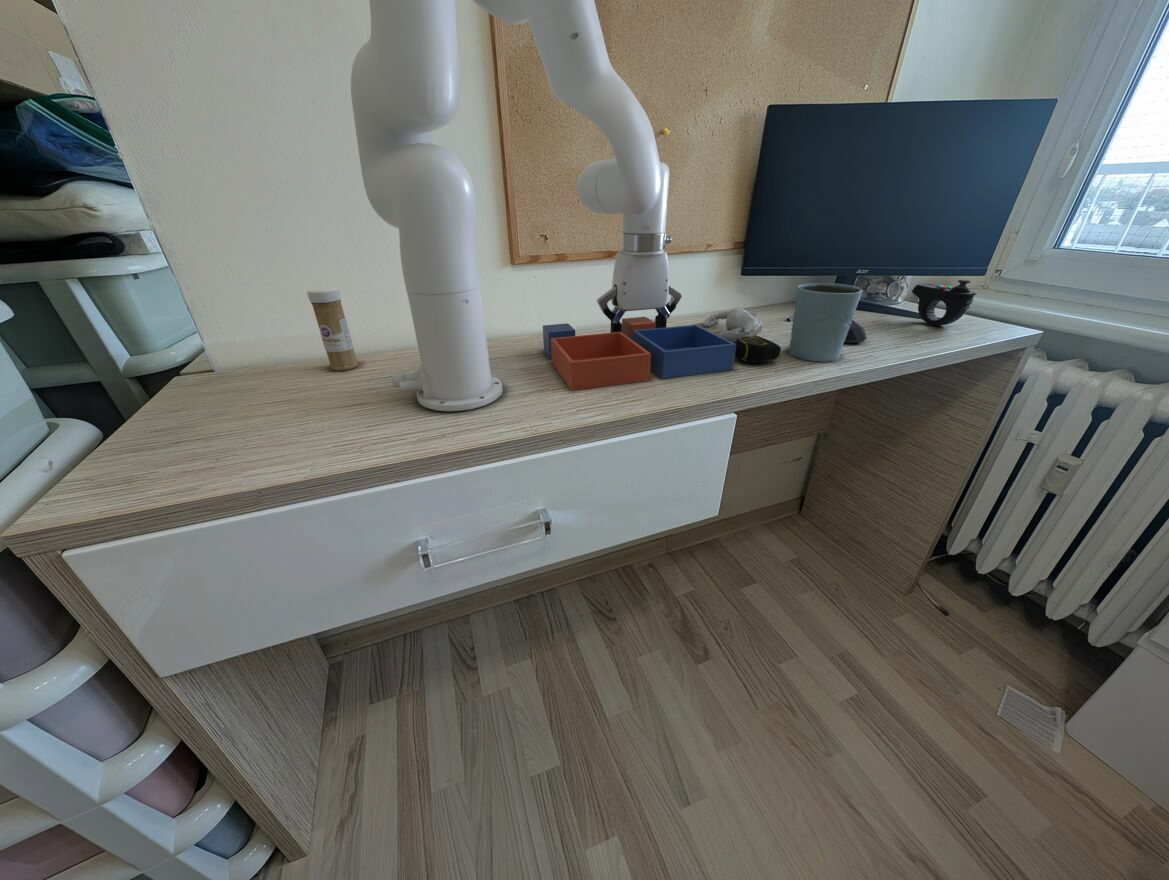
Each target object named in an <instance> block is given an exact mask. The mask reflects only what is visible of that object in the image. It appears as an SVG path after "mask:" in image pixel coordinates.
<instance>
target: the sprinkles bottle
mask: <svg viewBox="0 0 1169 880" xmlns="http://www.w3.org/2000/svg"><path fill="white" fill-rule="evenodd" d="M306 294H307V297H308V300H309V302H310V305H311V306H312V309H313V313H314V316H315V319H316V322H317V325H318V329H319V333H320V337H321V340H322V343H323V347H324V350H325V352H326V355H327V358H328V362H329V367H330V369H331V370H334V371H348V370H352V369H354V368H356V367H358V365H359V361H358V359H357V356H356V353H355V349H354V344H353V340H352V336H351V333H350V330H349V325H348V322H347V318H346V316H345V313H344V309H343V306H342V300H341V299H342V297H341V293H340V291H339V288H338V287H337V286H329V285H328V286H326V285H325V286H316V287H311V288H309V289H307V290H306Z"/></svg>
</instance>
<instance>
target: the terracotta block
mask: <svg viewBox="0 0 1169 880" xmlns="http://www.w3.org/2000/svg"><path fill="white" fill-rule="evenodd" d="M621 324H622V333H623V334H625V335H626V336H627V337H629V338H630V339H631V340H632V334H633V331H634V330H644V329H655V328H656V322H655V320H652V319H650V318H649V317H647V316H636V317H635V316H634V317H625V318H623V317H622V318H621Z"/></svg>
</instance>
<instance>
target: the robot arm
mask: <svg viewBox="0 0 1169 880" xmlns="http://www.w3.org/2000/svg"><path fill="white" fill-rule="evenodd" d="M471 1H473V3H475V4H476V5H477V6H479V7H480V8H482V9H483V10H484V11H485V12H487V13H488V14H490V15H491V16H493V17H494V18H496V19H498V20H500V21H501V22H503V23H505V24H508V25H511V26H519V25H523V24H525V23H528V25H529V27H530V31H531V33H532V37H533V39H534V42H535V45H536V48H537V51H538V54H539V57H540V60H541V63H542V67H543V69H544V72H545V76H546V78H547V81H548V85H549V88H550V90H551V92H552V94H553V95H554V96H555V98H557V99H558V100H559V101H561V102H562V103H564V104H565V105H567V106H569V107H570V108H572V109H573V110H575V111H577V112H578V113H580V114H582V115H584V116H585V117H586V118H588V120H590V121H591V122H593V124H595V125H596V126H597V128H598V129H599V130H600V131H601V133H603V136H605V138H606V139H607V141H608V143H609V144H610V147H611V149H612V151H613V153H614V158H610V159H609V158H607V159H599V160H596V161H592V162H591V163H589V164H588V165H586V166H585V167H584V168H583V169H581V170H582V171H580V174H579V175H578V179H577V183H576V193H577V196H578V199H579V201H580V202H581V204H582V205H583V207H585V208H586V209H587V210H589V211H591V212H592V213H596V214H606V215H607V214H608V215H615V214H617V215H622V228H621V229H622V233H621V251H618V252H616V256H615V261H614V267H613V273H612V280H611V281H612V282H611V288H610V289H609V290H607V291H606V292H605V293H604V294H602V295H601V296H599V297H598V298H597V299H596V304H597V305H598V307H599V309H600V310H601V312H602V314H603V315H605V316H606V318H608V320H609V321H610V333H612V332H622V322H621V320H622V319H623V316H624V315H625V313H626V312H634V311H647V310H655V311H656V313H657V315H655V317H654V322H656V328H665V327H667V321H668V319H669V318H670V317H671V314H672V313H673V312H674V311H675V310H676V308H677V305H678V304H679V302H680V301H681V299H682V297H683V294H682V292H679V290H676V289H675V288H674V287H672V286H670V275H669V273H670V271H669V260H668V253H667V251H665V249H666V245H670V244H671V243H672V236H671V235H667V232H666V227H667V214H668V213H667V211H668V202H669V201H668V199H669V187H670V186H669V185H670V167H669V165H667V163H665V162H664V161H663V162H662V161H660V155H659V151H658V146H657V141H656V136H655V132H654V129H653V127H652V123H651V122H650V121H651V120H650V119H649V117H648V115H647V113H646V111H645V109H644V108H643V106H642V105H641V103H640V102H639V100H638V98H637V97H636V95H635V94H634V93H633V91H632V90H631V89H630V87H629V86H628V85H627V83H626V82H625V81H624V79H623V78H622V77H621V76H620V75H619V74H618V73H617V71H615V69H614V68H613V65H612V63H611V61H610V58H609V54H608V51H607V47H606V42H605V39H604V33H603V31H602V27H601V23H600V18H599V15H598V11H597V6H596V3H595V0H471ZM368 3H369V11H370V37H369V39H368V40H367V41H366V42H365V43H364V44H363V45H362V46H361V47H360V48H359V50H358V52H357V53H356V54H355V56H354V60H353V63H352V67H351V72H350V73H351V75H350V95H351V97H350V99H351V105H352V113H353V120H354V127H355V134H356V142H357V150H358V156H359V163H360V169H361V176H362V182H363V186H364V190H365V194H366V197H367V199H368V202H369V204H370V206H371V207H372V209H373V210H374V212H375V213H376V214H377V215H378V216H379V217H380V218H381V219H382V220H383V221H384V222H385V223H387V224H388V225H389V226H391V227H393V228H396V229H398V237H399V253H400V263H401V270H402V271H401V272H402V276H403V281H404V286H405V291H406V294H407V300H408V304H409V310H410V314H411V318H412V325H413V328H414V333H415V338H416V342H417V343H416V344H417V348H418V354H419V358H420V367H419V368H420V369H413V372H409V373H404V372H403V373H401V372H400V373H393V374H391V377H390V378H391V384H392V387H393V388H399V389H400V392H406V391H411V390H416V400H417V402H418V404H419V405H421V406H422V407H423V408H426V409H429V410H432V411H438V412H462V411H469V410H474V409H478V408H481V407H484V406H487V405H489V404H491V403H493V402H495V401H496V400H498V399H499V398H500V397H501V396H502V394H503V391H504V388H503V383H502V380H500V379H499V378H497V377H496V376H494V375H492V373H491V367H490V357H489V350H488V349H489V347H488V341H487V333H486V332H487V331H486V324H485V316H484V308H483V307H484V306H483V299H482V291H481V283H480V276H479V267H478V266H479V265H478V257H477V255H478V254H477V213H478V211H477V210H478V209H477V195H476V191H475V186H474V185H475V184H474V182H473V180H472V177H471V175H470V173H469V171H468V168H467V167H466V166H465V165H464V163H463V162H462V161H461V160H460V158H458V156H456V155H455V154H454V153H453V152H451V151H450V150H448V149H447V148H445V147H443V146H440V145H437V144H434V143H433V140H432V139H433V138H432V132H433V131H437V130H439V129H441V128H443V127H445V126H447V125H448V124H450V123H451V122H452V120H453V119H454V118H455V116H456V114H457V113H458V110H459V107H460V101H461V100H460V99H461V84H460V83H461V82H460V67H459V66H460V65H459V47H458V45H459V44H458V29H457V9H456V8H457V7H456V0H369V2H368ZM669 296H670V300H669ZM668 300H669V301H668ZM610 301H611V305H612V306H614V307H613V308H612V309H611V308H610V307H609V305H608V304H609V302H610Z"/></svg>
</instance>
